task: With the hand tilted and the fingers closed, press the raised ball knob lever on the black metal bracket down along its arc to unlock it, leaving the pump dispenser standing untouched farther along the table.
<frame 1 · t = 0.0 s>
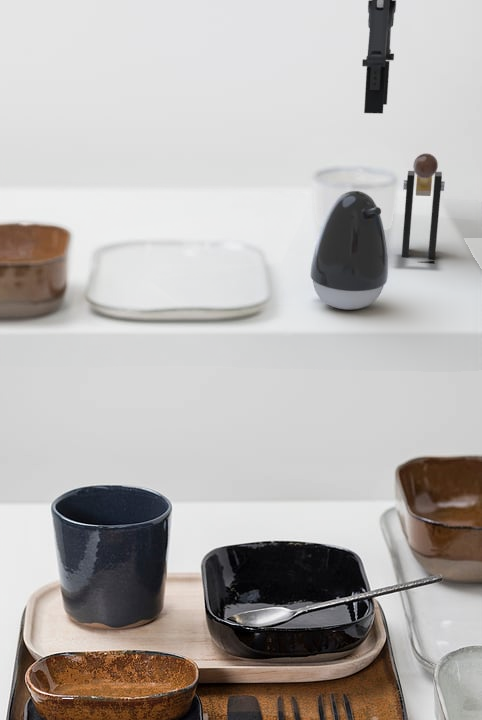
hand: (375, 108, 166), 22 cm above the shelf, tool pointing down, fingers open, 13 cm apart
pump dispenser: (346, 304, 146), on the shelf
ball knob lever: (424, 175, 158), point 14 cm above the shelf, hinge at 25.0°
latch bracket: (417, 263, 168), on the shelf
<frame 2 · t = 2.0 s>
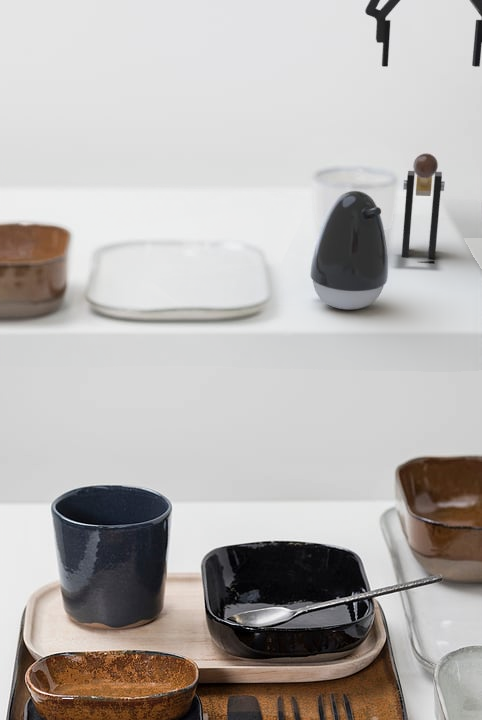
hand: (430, 66, 165), 29 cm above the shelf, tool pointing down, fingers open, 13 cm apart
nothing on the shelf moved.
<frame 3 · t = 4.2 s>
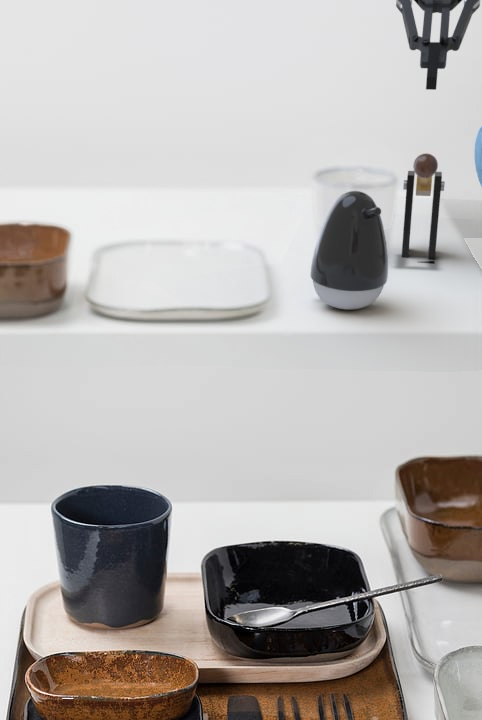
hand: (431, 83, 160), 27 cm above the shelf, tool tilted 45°, fingers closed
nothing on the shelf moved.
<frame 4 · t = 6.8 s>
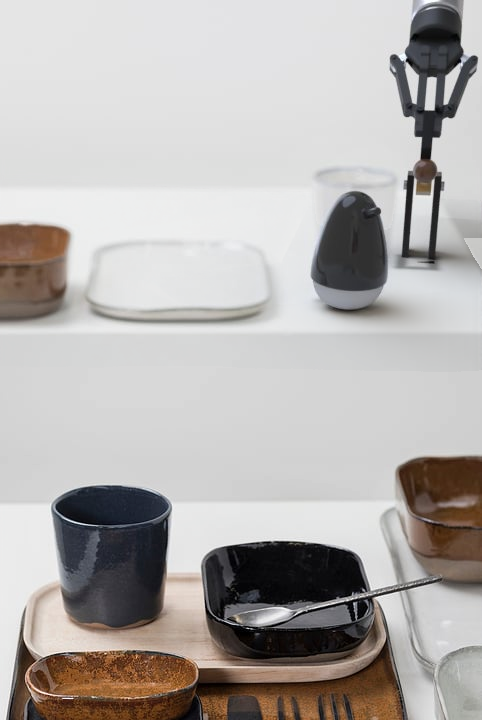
hand: (426, 153, 153), 18 cm above the shelf, tool tilted 45°, fingers closed
ball knob lever: (424, 178, 158), point 14 cm above the shelf, hinge at 20.8°, touching gripper
everything else where it was.
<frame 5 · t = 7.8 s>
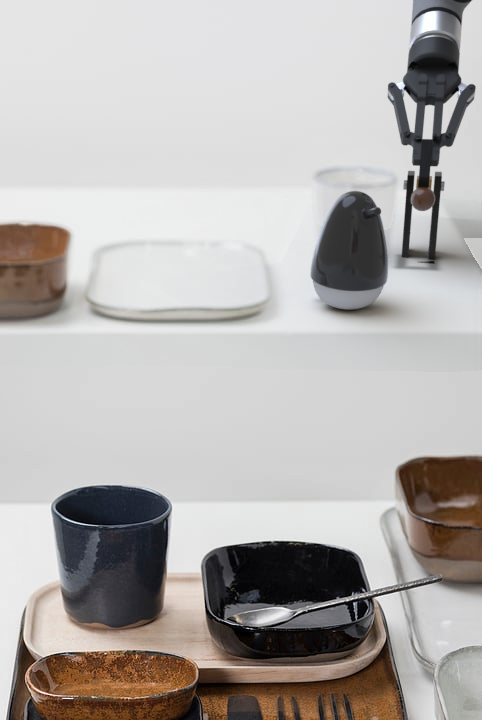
hand: (423, 182, 154), 14 cm above the shelf, tool tilted 45°, fingers closed
ball knob lever: (423, 192, 159), point 12 cm above the shelf, hinge at -1.6°, touching gripper
everything else where it was.
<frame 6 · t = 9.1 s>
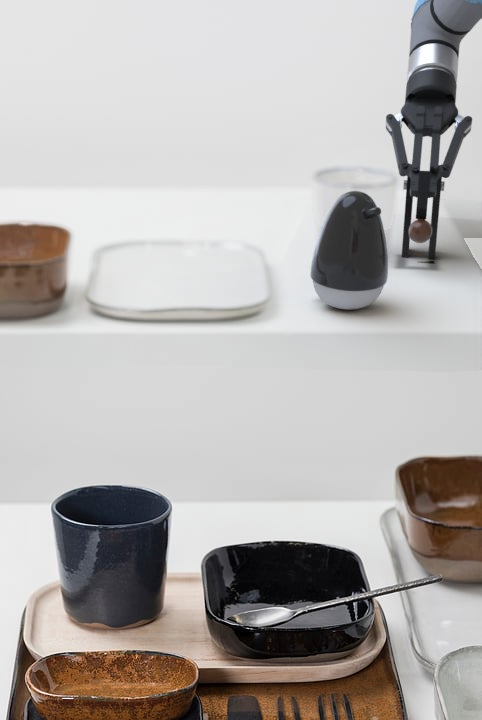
hand: (421, 213, 157), 9 cm above the shelf, tool tilted 45°, fingers closed
ball knob lever: (422, 208, 160), point 9 cm above the shelf, hinge at -31.2°, touching gripper
everything else where it was.
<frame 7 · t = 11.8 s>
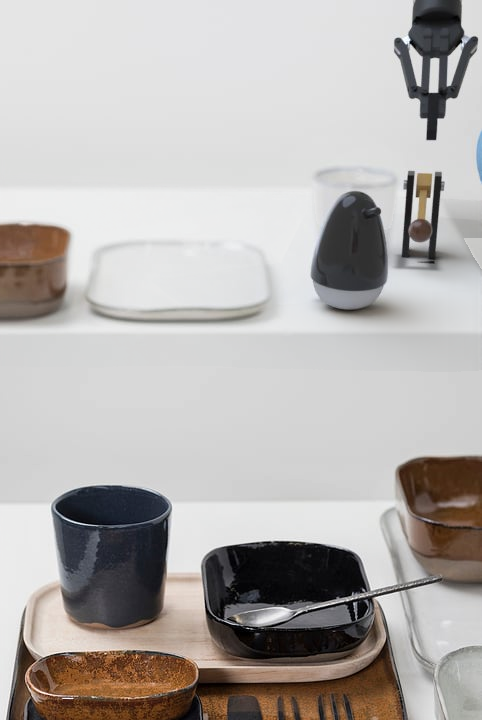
hand: (431, 135, 162), 19 cm above the shelf, tool tilted 40°, fingers closed
ball knob lever: (422, 208, 160), point 9 cm above the shelf, hinge at -30.5°
everything else where it was.
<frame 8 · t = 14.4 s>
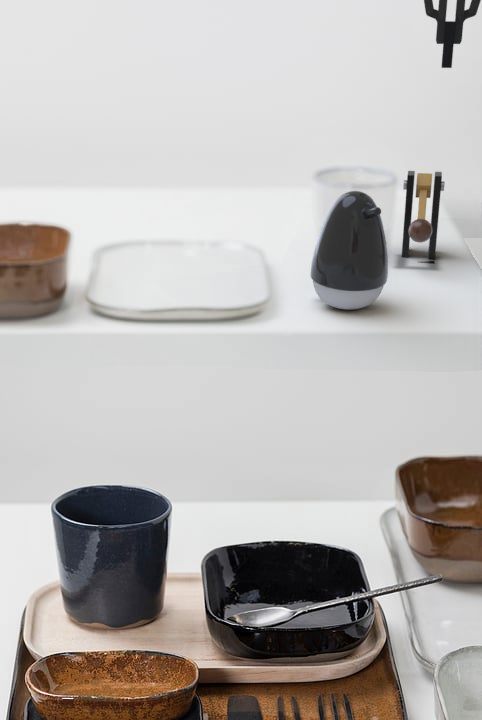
hand: (446, 67, 165), 28 cm above the shelf, tool pointing down, fingers closed
nothing on the shelf moved.
at the end: ball knob lever at -30° (first picture: +25°); pump dispenser moved 0.0 cm from its start; pump dispenser tilted 6° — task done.
